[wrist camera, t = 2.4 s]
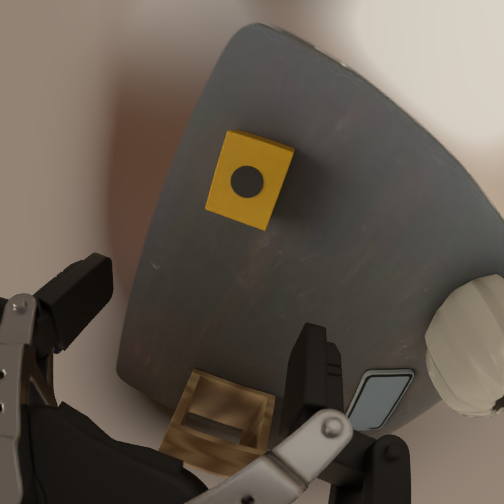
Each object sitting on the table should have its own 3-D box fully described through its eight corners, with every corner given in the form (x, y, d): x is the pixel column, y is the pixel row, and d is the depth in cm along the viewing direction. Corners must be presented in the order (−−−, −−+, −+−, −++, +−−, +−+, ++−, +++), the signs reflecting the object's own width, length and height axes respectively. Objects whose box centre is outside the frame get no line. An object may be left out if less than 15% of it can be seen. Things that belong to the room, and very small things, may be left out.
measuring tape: (216, 201, 25) (202, 214, 22) (238, 129, 22) (226, 130, 19) (269, 220, 25) (263, 236, 22) (295, 148, 22) (294, 152, 18)
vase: (495, 238, 21) (569, 310, 9) (511, 316, 24) (553, 386, 12) (397, 308, 26) (431, 412, 15) (432, 370, 30) (455, 452, 18)
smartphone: (416, 372, 29) (380, 429, 35) (415, 367, 30) (380, 425, 36) (365, 373, 30) (338, 430, 36) (364, 368, 31) (338, 426, 37)
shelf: (183, 405, 41) (155, 472, 29) (194, 367, 36) (157, 452, 23) (250, 427, 41) (233, 497, 29) (275, 395, 36) (260, 484, 23)
